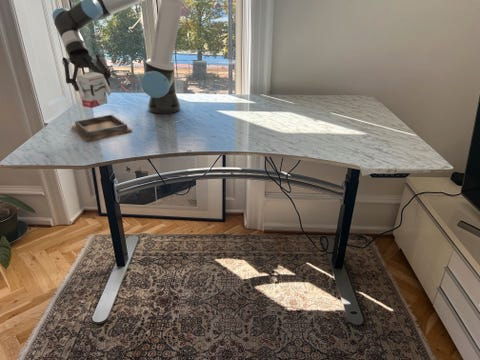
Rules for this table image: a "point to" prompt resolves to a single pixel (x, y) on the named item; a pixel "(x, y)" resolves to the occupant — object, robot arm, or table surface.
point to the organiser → (100, 127)
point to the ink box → (93, 89)
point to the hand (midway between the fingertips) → (96, 95)
